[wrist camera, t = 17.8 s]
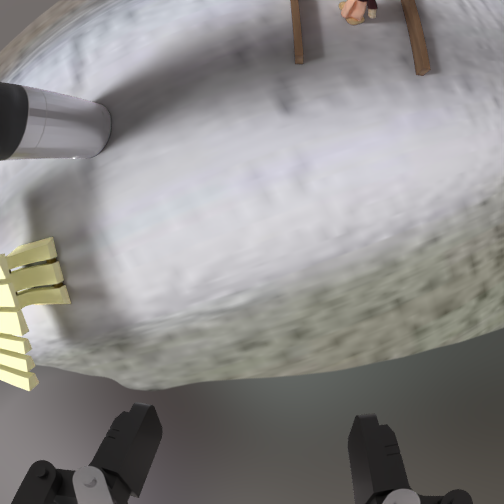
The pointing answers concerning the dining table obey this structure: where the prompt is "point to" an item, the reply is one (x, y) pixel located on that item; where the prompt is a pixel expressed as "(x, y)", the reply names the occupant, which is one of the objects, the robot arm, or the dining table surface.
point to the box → (413, 29)
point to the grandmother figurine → (357, 10)
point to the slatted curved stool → (11, 302)
